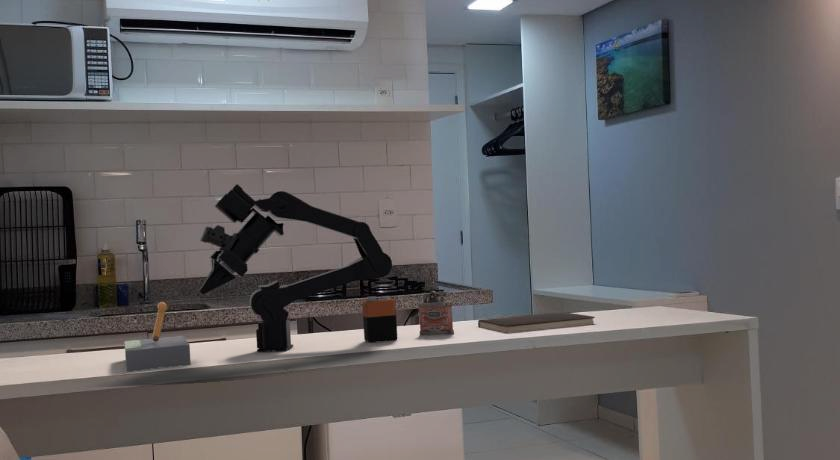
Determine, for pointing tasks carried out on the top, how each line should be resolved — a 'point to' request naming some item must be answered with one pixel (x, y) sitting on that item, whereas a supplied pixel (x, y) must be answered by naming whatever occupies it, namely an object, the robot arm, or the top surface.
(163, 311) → the lever
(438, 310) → the red perfume bottle
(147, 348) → the block
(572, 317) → the hardcover book
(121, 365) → the top surface
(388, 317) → the battery
